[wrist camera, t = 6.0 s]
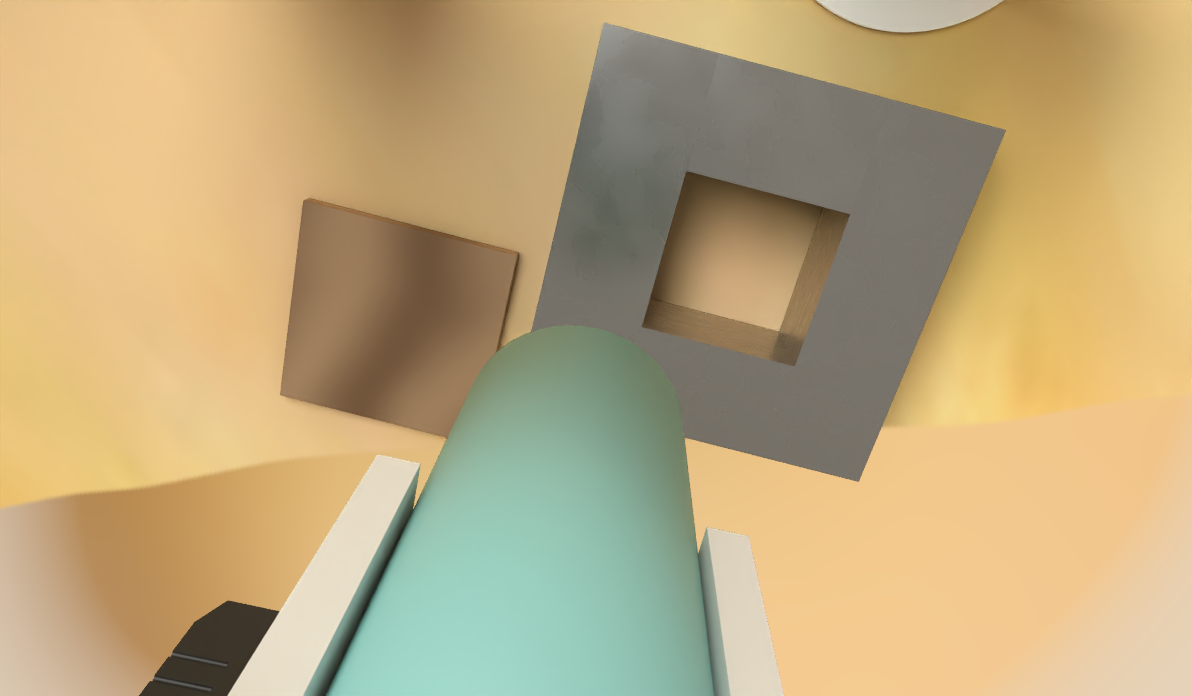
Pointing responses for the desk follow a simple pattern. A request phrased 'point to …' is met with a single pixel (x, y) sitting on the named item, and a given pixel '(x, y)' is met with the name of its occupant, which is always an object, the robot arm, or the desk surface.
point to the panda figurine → (907, 13)
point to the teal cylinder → (546, 539)
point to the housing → (833, 262)
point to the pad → (391, 317)
